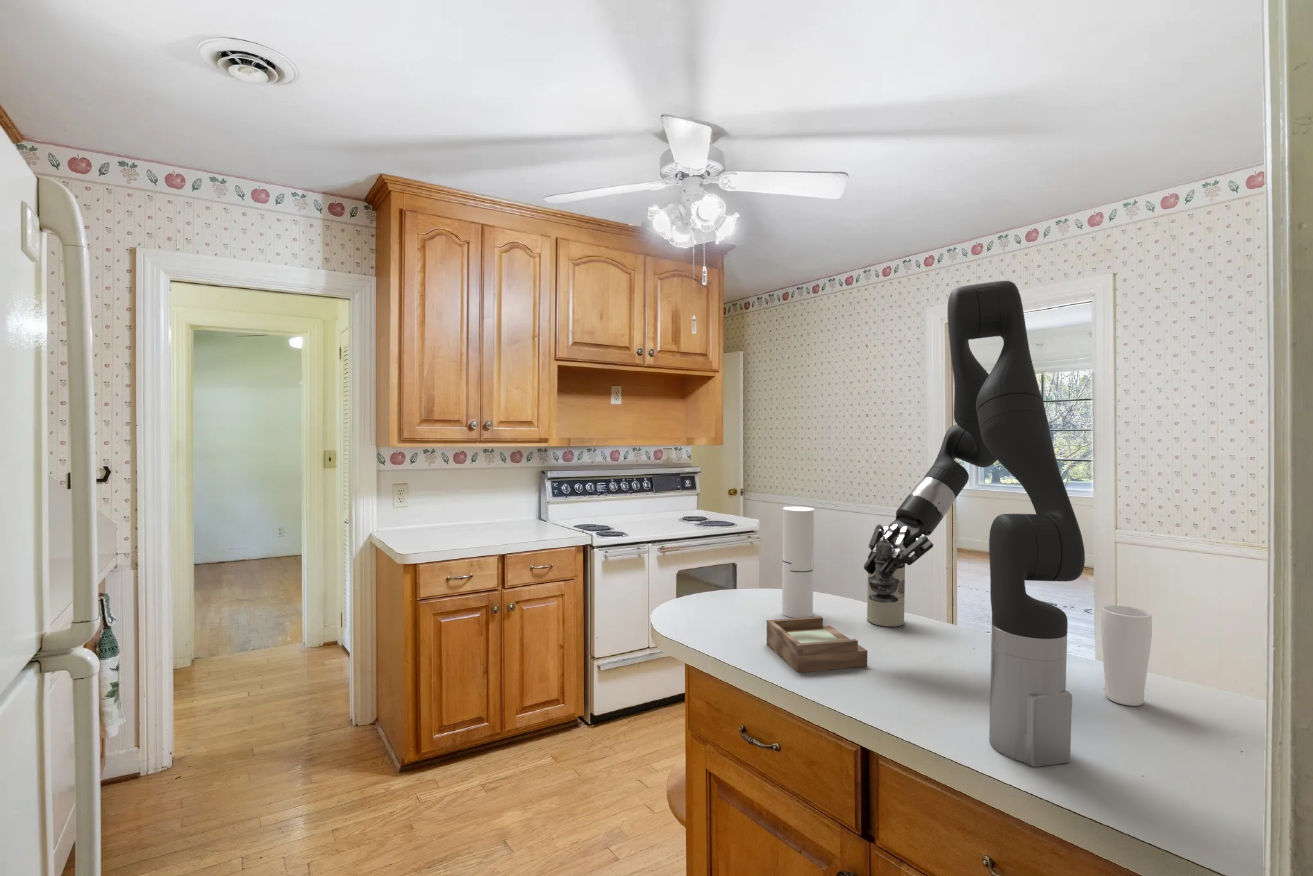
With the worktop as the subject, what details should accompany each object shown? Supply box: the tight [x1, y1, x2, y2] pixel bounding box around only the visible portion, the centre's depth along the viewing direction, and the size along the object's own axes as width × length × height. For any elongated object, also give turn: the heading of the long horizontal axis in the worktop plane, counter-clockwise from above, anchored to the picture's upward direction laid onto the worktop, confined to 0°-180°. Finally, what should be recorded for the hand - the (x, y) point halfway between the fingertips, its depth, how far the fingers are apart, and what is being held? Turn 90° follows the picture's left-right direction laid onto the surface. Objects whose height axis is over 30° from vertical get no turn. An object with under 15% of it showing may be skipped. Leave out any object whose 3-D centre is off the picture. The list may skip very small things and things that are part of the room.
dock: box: [766, 616, 868, 673], centre depth 128 cm, size 15×14×5 cm
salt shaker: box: [867, 537, 900, 603], centre depth 124 cm, size 6×6×12 cm
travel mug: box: [866, 541, 906, 628], centre depth 148 cm, size 8×8×18 cm
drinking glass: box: [1100, 604, 1153, 707], centre depth 107 cm, size 7×7×15 cm
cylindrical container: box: [781, 506, 815, 618], centre depth 154 cm, size 7×7×25 cm
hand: (875, 573), depth 123 cm, fingers closed on salt shaker, 3 cm apart
